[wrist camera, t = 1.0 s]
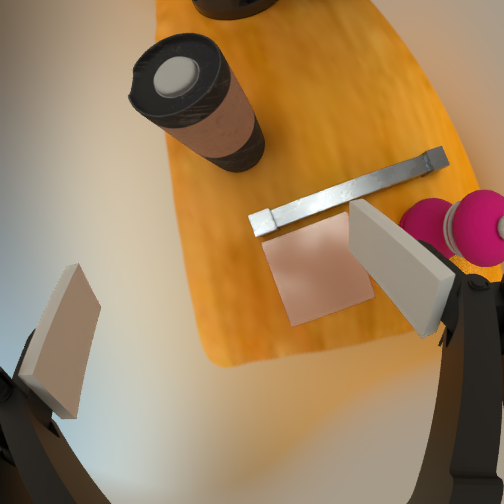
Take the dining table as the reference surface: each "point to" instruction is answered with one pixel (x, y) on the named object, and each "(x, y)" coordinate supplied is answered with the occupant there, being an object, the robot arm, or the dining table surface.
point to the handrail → (347, 192)
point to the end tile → (317, 270)
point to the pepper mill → (461, 226)
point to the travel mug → (197, 100)
